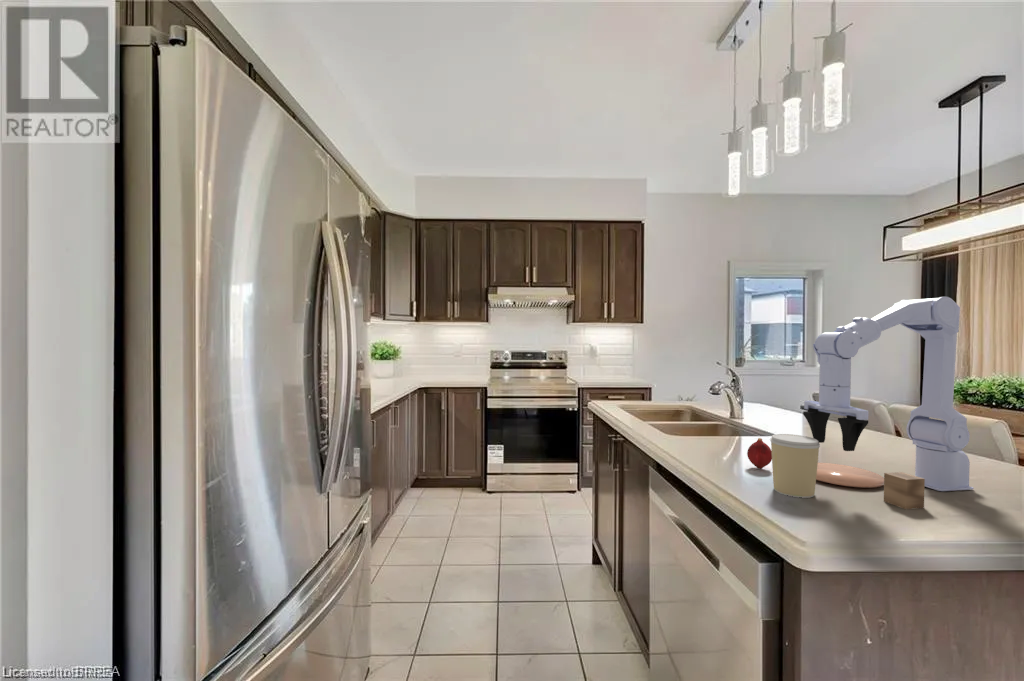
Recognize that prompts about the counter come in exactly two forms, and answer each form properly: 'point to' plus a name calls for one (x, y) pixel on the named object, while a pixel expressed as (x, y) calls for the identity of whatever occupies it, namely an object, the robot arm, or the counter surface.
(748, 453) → the onion
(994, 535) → the counter surface
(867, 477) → the dish
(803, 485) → the coffee cup
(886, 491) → the block
